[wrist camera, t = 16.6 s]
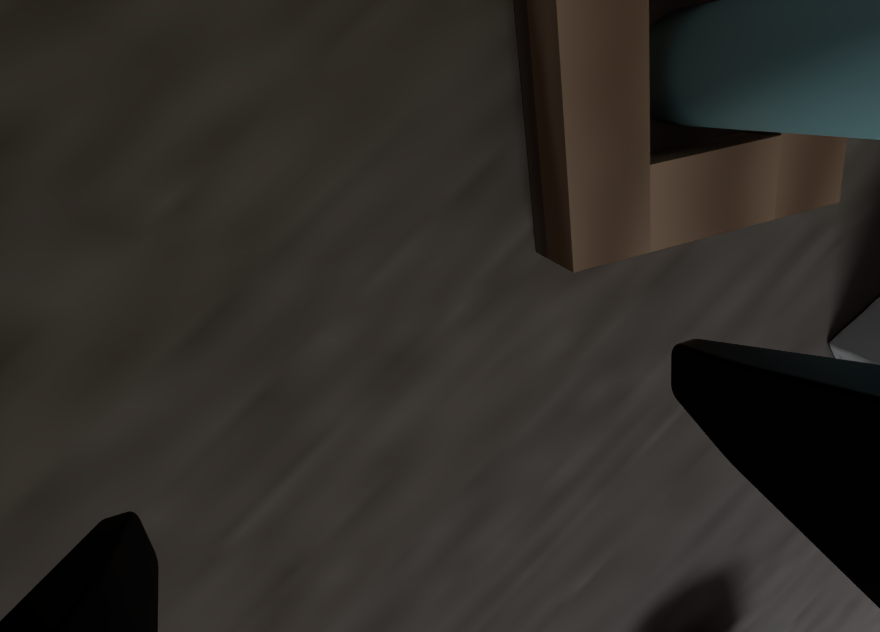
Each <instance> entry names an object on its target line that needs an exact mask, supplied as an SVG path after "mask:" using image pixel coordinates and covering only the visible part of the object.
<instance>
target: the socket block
mask: <svg viewBox="0 0 880 632" xmlns="http://www.w3.org/2000/svg"><path fill="white" fill-rule="evenodd" d="M714 1H719V0H514V9H515V20H516V31H517V42H518V53H519V64H520V75H521V87H522V98H523V109H524V120H525V131H526V142H527V153H528V164H529V176H530V187H531V198H532V209H533V220H534V231H535V242H536V252H537V253H539V254H541V255H542V256H544V257H546V258H548V259H550V260H552V261H553V262H555V263H557V264H559V265H561V266H563V267H564V268H566V269H568V270H570V271H572V272H578V271H581V270H585V269H589V268H593V267H596V266H600V265H604V264H608V263H612V262H615V261H619V260H623V259H627V258H631V257H634V256H638V255H642V254H646V253H649V252H653V251H657V250H661V249H665V248H668V247H672V246H676V245H680V244H684V243H687V242H691V241H695V240H699V239H702V238H706V237H710V236H714V235H718V234H721V233H725V232H729V231H733V230H737V229H740V228H744V227H748V226H752V225H755V224H759V223H763V222H767V221H771V220H774V219H778V218H782V217H786V216H790V215H793V214H797V213H801V212H805V211H808V210H812V209H816V208H820V207H824V206H827V205H831V204H835V203H839V202H840V194H841V185H842V177H843V169H844V161H845V153H846V145H847V137H834V136H820V135H807V134H793V133H779V132H765V131H751V130H737V129H723V128H709V127H695V126H681V125H668V124H663V123H661V122H658V121H656V120H655V119H653V118H652V117H651V116H650V82H649V29H650V28H651V27H652V25H653V24H654V23H655V22H656V21H657V20H659V19H660V18H661V17H662V16H664V15H665V14H667V13H669V12H671V11H673V10H675V9H679V8H683V7H689V6H694V5H699V4H704V3H709V2H714Z"/></svg>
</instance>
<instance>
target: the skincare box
mask: <svg viewBox="0 0 880 632" xmlns="http://www.w3.org/2000/svg"><path fill="white" fill-rule="evenodd" d="M830 348H831V350H832V352H833V354H834V357H835V358H836V359H843V360H850V361H857V362H864V363H871V364H878V365H880V297H879V298H878V299H876V300H875V301H874V302H873V303H872V304H871V305H870V306H869V307H868V308H867V309H866V310H865V311H864V312H863V313H861V314H860V315H859V316H858V317H857V318H856V319H855V320H854V321H852V322H851V323H850V324H849V325H848V326H847V327H846V328H845V329H844V330H842V331H841V332H840V333H839V334H838V335H837V336H836V337H835V338H834V339H833V340H832V341H831V342H830Z"/></svg>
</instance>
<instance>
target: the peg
mask: <svg viewBox="0 0 880 632" xmlns="http://www.w3.org/2000/svg"><path fill="white" fill-rule="evenodd" d="M649 82H650V116H651V117H652V118H653V119H655V120H656V121H658V122H661V123H663V124H668V125H681V126H695V127H709V128H723V129H737V130H751V131H765V132H779V133H793V134H807V135H820V136H834V137H848V138H862V139H876V140H880V0H719V1H714V2H709V3H704V4H699V5H694V6H689V7H683V8H679V9H675V10H673V11H671V12H669V13H667V14H665V15H664V16H662V17H661V18H660V19H659V20H657V21H656V22H655V23H654V24H653V25H652V27H651V28H650V29H649Z"/></svg>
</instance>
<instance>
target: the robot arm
mask: <svg viewBox="0 0 880 632" xmlns="http://www.w3.org/2000/svg"><path fill="white" fill-rule="evenodd" d="M671 387H672V391H673V394H674V396H675V397H676V399H677V400H678V402H679V403H680V404H681V405H682V406H683V407H684V409H685V410H686V411H687V412H688V413H689V415H690V416H691V417H692V418H693V419H694V421H695V422H696V423H697V424H698V425H699V426H700V428H701V429H702V430H703V431H704V432H705V434H706V435H707V436H708V437H709V438H710V440H711V441H712V442H713V443H714V444H715V445H716V447H717V448H718V449H719V450H720V451H721V452H722V454H723V455H724V456H725V457H726V458H727V459H728V460H729V461H730V463H731V464H732V465H733V466H734V467H735V468H736V469H737V470H738V471H739V472H740V473H741V474H742V475H743V476H744V477H745V478H746V479H747V480H748V481H750V482H751V483H752V484H753V485H754V486H755V487H756V488H757V489H758V490H759V491H760V492H761V493H762V494H763V495H764V496H765V497H766V498H767V499H768V500H769V501H770V502H771V503H772V504H773V505H774V506H775V507H776V508H777V509H778V510H779V511H780V512H781V513H782V514H783V515H784V516H785V517H786V518H787V519H788V520H789V521H791V522H792V523H793V524H794V525H795V526H796V527H797V528H798V529H799V530H800V531H801V532H802V533H803V534H804V535H805V536H806V537H807V538H808V539H809V540H810V541H811V542H812V543H813V544H814V545H815V546H816V547H817V548H818V549H819V550H820V551H821V552H822V553H823V554H824V555H825V556H826V557H827V558H828V559H829V560H831V561H832V562H833V563H834V564H835V565H836V566H837V567H838V568H839V569H840V570H841V571H842V572H843V573H844V574H845V575H846V576H847V577H848V578H849V579H850V580H851V581H852V582H853V583H854V584H855V585H856V586H857V587H858V588H859V589H860V590H861V591H862V592H863V593H864V594H865V595H866V596H867V597H868V598H869V599H871V600H872V601H873V602H874V603H875V604H876V605H877V606H878V607H879V608H880V365H878V364H871V363H864V362H857V361H850V360H843V359H836V358H829V357H822V356H815V355H808V354H801V353H794V352H787V351H780V350H773V349H766V348H759V347H752V346H745V345H738V344H731V343H724V342H716V341H709V340H702V339H692V340H689V341H685V342H682V343H679V344H677V345H675V346H674V348H673V350H672V355H671ZM0 632H158V561H157V557H156V553H155V551H154V549H153V547H152V544H151V542H150V540H149V538H148V536H147V534H146V531H145V529H144V527H143V525H142V523H141V521H140V519H139V517H138V516H137V515H136V513H134V512H131V511H130V512H125V513H122V514H119V515H115V516H112V517H109V518H106V519H104V520H102V521H101V522H99V523H98V524H97V525H96V526H95V527H94V528H93V529H92V530H91V531H90V532H89V533H88V534H87V535H86V536H85V537H84V538H83V539H82V540H81V541H80V542H79V543H78V544H77V545H76V546H75V547H74V548H73V549H72V550H71V551H70V552H69V553H68V554H67V555H66V556H65V557H64V558H63V559H62V560H61V561H60V562H59V563H58V564H57V565H56V566H55V567H54V568H53V569H52V570H51V571H50V572H49V573H48V574H47V575H46V576H45V577H44V578H43V579H42V580H41V581H40V582H39V583H38V584H37V585H36V586H35V587H34V588H33V589H32V590H31V591H30V592H29V593H28V594H27V595H26V596H25V597H24V598H23V599H22V600H21V601H20V602H19V603H18V604H17V605H16V606H15V607H14V608H13V609H12V610H11V611H10V612H9V613H8V614H7V615H6V616H5V617H4V618H3V619H2V620H1V621H0Z"/></svg>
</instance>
